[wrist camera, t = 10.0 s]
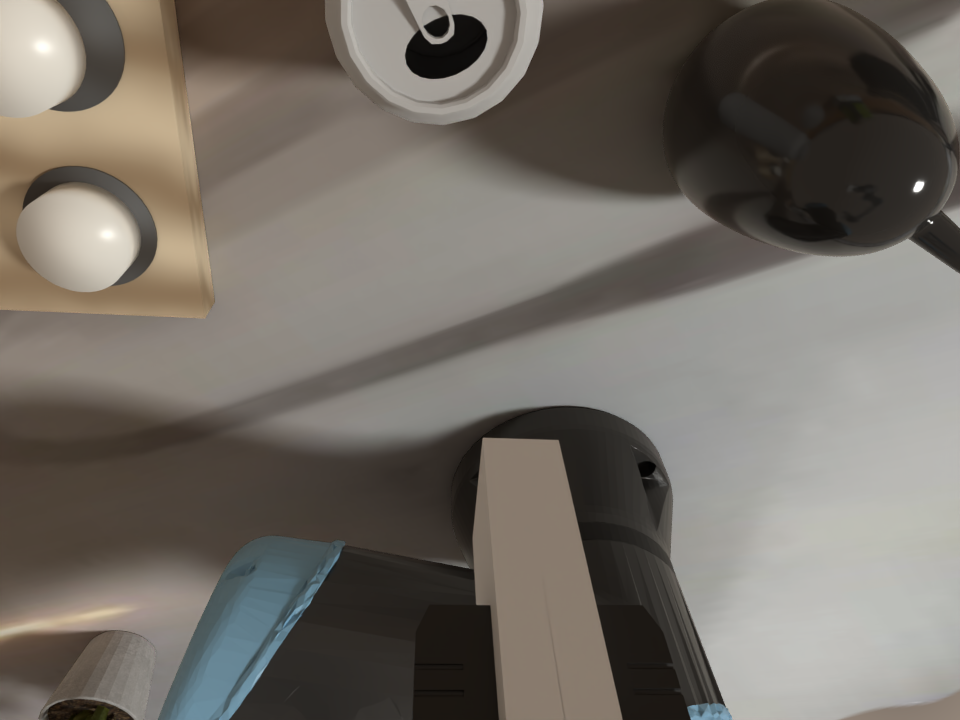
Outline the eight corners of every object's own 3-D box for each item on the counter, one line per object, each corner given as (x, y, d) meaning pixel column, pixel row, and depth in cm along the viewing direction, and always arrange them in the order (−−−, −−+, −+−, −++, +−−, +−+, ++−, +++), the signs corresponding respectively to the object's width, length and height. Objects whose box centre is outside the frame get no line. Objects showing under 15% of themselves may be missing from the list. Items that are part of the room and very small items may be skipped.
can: (396, 97, 35) (379, 169, 25) (325, -66, 32) (271, -58, 21) (537, 37, 34) (578, 87, 24) (481, -140, 30) (503, -168, 20)
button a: (148, 277, 37) (135, 294, 36) (49, 272, 37) (31, 289, 35) (131, 185, 35) (115, 198, 33) (24, 178, 34) (3, 192, 33)
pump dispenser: (741, 232, 40) (882, 381, 27) (603, 126, 37) (690, 238, 24) (887, 76, 36) (1135, 165, 23) (747, -61, 32) (948, -47, 20)
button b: (97, 110, 31) (77, 122, 29) (-24, 102, 30) (-51, 113, 29) (71, -19, 28) (48, -15, 27) (-62, -30, 28) (-94, -26, 26)
